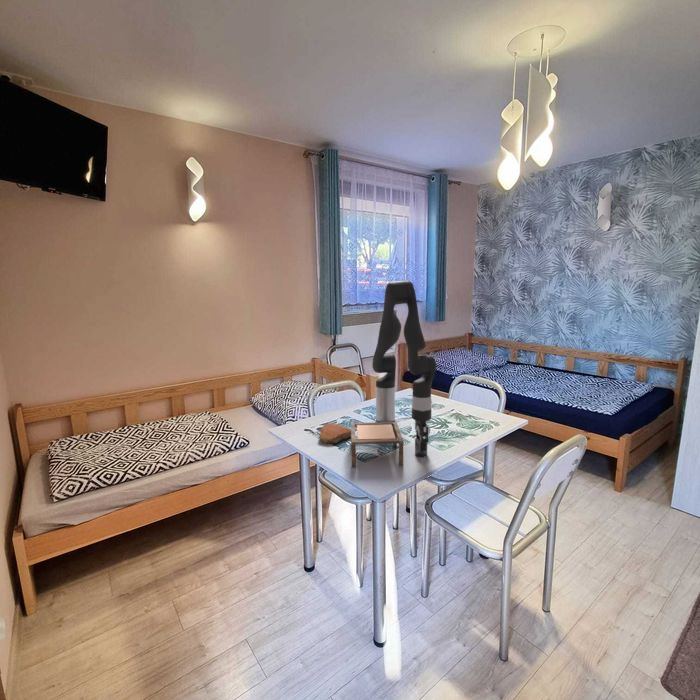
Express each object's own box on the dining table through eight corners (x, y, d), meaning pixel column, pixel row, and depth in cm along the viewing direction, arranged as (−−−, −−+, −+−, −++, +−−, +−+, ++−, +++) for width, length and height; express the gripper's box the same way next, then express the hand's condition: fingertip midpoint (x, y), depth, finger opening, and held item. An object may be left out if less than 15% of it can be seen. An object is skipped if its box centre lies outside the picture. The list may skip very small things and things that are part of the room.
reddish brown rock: (307, 426, 169) (331, 422, 180) (308, 441, 169) (331, 435, 180) (331, 430, 159) (355, 425, 171) (331, 446, 159) (355, 439, 170)
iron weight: (413, 451, 154) (414, 437, 153) (425, 451, 154) (426, 437, 153) (416, 457, 149) (416, 442, 148) (428, 457, 149) (428, 442, 148)
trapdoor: (356, 427, 157) (356, 424, 157) (391, 426, 157) (391, 423, 157) (358, 441, 143) (358, 439, 143) (395, 440, 143) (395, 438, 143)
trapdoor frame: (351, 445, 161) (350, 423, 159) (396, 444, 161) (396, 422, 159) (352, 467, 142) (351, 442, 140) (403, 466, 142) (403, 440, 141)
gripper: (408, 401, 155) (408, 439, 158) (415, 412, 141) (414, 454, 144) (427, 401, 155) (426, 438, 158) (435, 412, 141) (434, 453, 144)
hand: (421, 446), depth 151 cm, fingers open, 8 cm apart
